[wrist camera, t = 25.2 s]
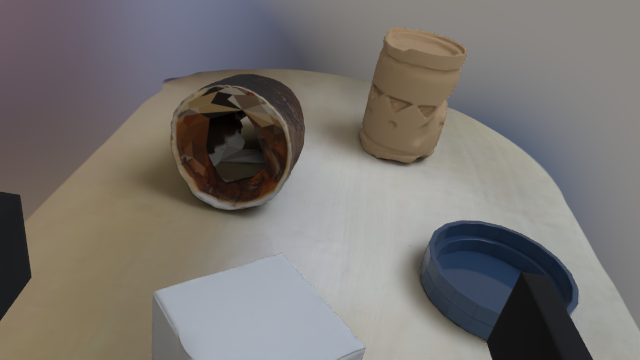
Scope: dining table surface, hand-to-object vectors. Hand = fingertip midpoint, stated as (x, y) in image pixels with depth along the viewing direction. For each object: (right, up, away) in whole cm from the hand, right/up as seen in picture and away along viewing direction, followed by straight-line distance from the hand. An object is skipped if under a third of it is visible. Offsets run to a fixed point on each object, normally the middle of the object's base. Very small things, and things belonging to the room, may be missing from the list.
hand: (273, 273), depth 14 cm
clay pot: (-9, +5, +60) cm, 61 cm away
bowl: (+20, -10, +45) cm, 51 cm away
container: (+14, +8, +73) cm, 74 cm away
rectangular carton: (-5, -18, +22) cm, 29 cm away
